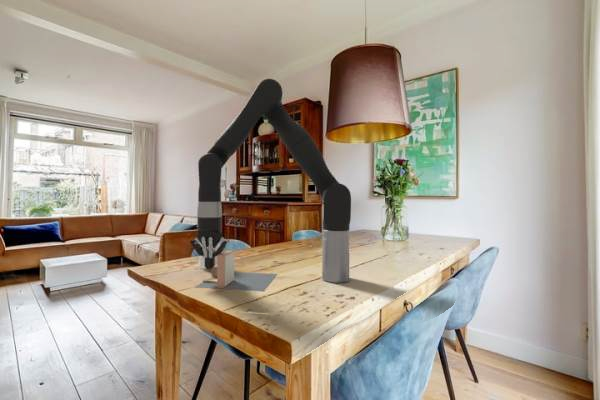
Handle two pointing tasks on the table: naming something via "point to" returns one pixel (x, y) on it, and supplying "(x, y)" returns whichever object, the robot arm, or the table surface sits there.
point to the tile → (225, 268)
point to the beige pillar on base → (214, 276)
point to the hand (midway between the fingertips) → (209, 268)
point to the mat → (245, 282)
